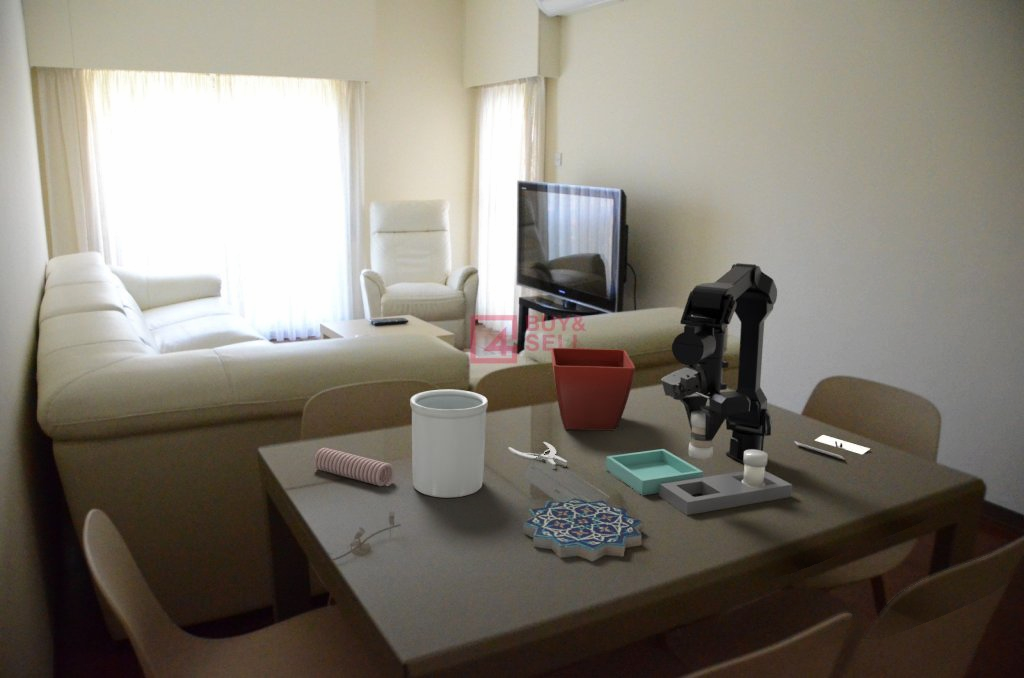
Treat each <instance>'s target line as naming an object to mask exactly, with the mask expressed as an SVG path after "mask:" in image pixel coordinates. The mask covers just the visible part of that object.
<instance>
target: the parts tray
mask: <svg viewBox="0 0 1024 678" xmlns="http://www.w3.org/2000/svg"><path fill="white" fill-rule="evenodd" d="M605 458H606V462H605V471H606V470H607V472H608V471H609V472H610V473H612V474H613V475H615V476H616V477H617V478H616V477H615V476H614V477H615V478H616V479H618V478H619V479H620V480H622V481H623V482H625V483H626V484H627V485H629V486H630V487H631V488H630V487H629V486H628V487H629V488H630V489H632V488H633V489H634V490H633V489H632V490H633V491H635V492H636V491H637V492H638V493H637V492H636V493H637V494H639V495H640V494H641V495H640V496H646V495H652V494H653V495H654V494H659V493H660V484H664V483H670V482H677V481H683V480H690V479H696V478H703V477H704V471H703V470H701V469H699V468H698V467H696V466H694V465H693V464H691V463H689V462H687V461H685V460H684V459H682V458H681V457H679V456H677V455H675V454H674V453H672V452H670V451H668V450H666V449H665V448H661V449H654V450H646V451H639V452H637V451H636V452H630V453H629V452H628V453H623V454H615V455H608V456H606V457H605ZM609 472H608V473H609ZM610 473H609V474H610ZM612 474H611V475H612ZM613 475H612V476H613ZM619 479H618V480H619ZM620 480H619V481H620ZM622 481H621V482H622ZM623 482H622V483H623ZM625 483H624V484H625ZM626 484H625V485H626ZM627 485H626V486H627Z"/></svg>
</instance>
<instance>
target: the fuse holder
mask: <svg viewBox="0 0 1024 678" xmlns="http://www.w3.org/2000/svg"><path fill="white" fill-rule="evenodd" d="M743 478H744V470H742V471H737V472H729V473H723V474H717V475H710V476H703V478H696V479H690V480H683V481H677V482H670V483H664V484H660V493H658V494H659V497H660V498H661V499H662V500H664V501H665V502H667V503H668V504H670V505H671V506H673V507H674V508H675V509H677V510H679V511H680V512H682V513H683V514H685V515H686V516H689V515H694V514H701V513H706V512H713V511H718V510H722V509H728V508H729V509H730V508H734V507H739V506H740V507H741V506H746V505H753V504H757V503H763V502H768V501H774V500H775V501H776V500H780V499H786V498H791V497H792V489H793V484H792V483H791V482H790V483H789V482H788V481H786V480H784V479H782V478H780V477H778V476H777V475H774V474H772V473H770V472H768V471H766V470H765V473H764V483H765V486H758V487H752V488H751V487H749V486H747V485H746V484H744V483H742V480H743ZM698 494H701V495H700V496H693V495H698Z"/></svg>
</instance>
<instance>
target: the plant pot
mask: <svg viewBox="0 0 1024 678" xmlns="http://www.w3.org/2000/svg"><path fill="white" fill-rule="evenodd" d="M550 351H551V353H550V354H551V363H552V371H553V377H554V378H553V379H554V385H555V392H556V398H557V405H558V409H559V415H560V418H561V422H562V426H563V428H564V429H566V430H583V431H584V430H587V431H588V430H589V431H592V430H593V431H615V430H617V428H618V426H619V424H620V421H621V419H622V417H623V414H624V412H625V409H626V405H627V403H628V400H629V399H628V398H629V396H630V392H631V389H632V385H633V380H634V377H635V376H634V375H635V370H636V366H635V365H634V362H633V361H632V360H631V358H630V356H629V354H628V353H627V351H626V350H624V349H612V348H611V349H610V348H609V349H603V348H574V347H573V348H572V347H571V348H569V347H566V348H565V347H554V348H551V349H550Z"/></svg>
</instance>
